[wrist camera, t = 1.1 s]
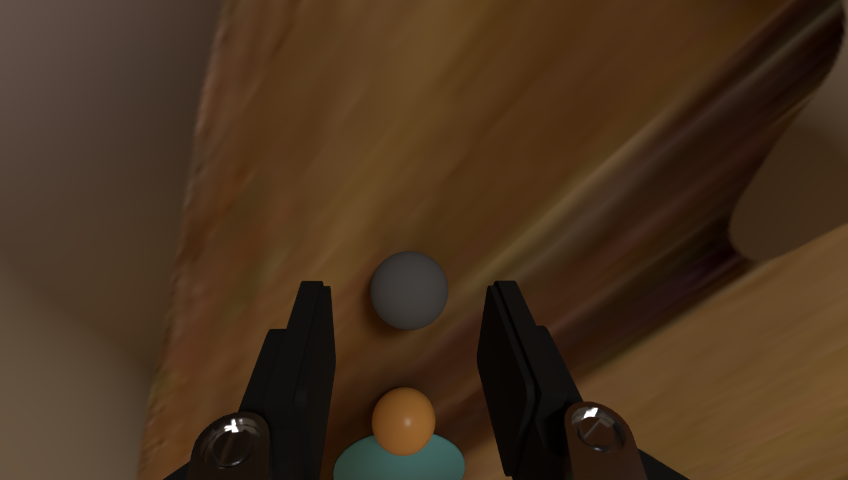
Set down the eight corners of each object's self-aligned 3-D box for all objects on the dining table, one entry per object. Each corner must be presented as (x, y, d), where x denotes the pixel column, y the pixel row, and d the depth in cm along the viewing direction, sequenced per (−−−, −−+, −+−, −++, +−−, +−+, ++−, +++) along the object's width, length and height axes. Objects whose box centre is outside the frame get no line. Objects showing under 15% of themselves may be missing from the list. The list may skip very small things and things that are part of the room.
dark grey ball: (455, 279, 32) (466, 326, 28) (393, 307, 33) (394, 358, 28) (423, 225, 30) (429, 267, 25) (357, 257, 31) (352, 303, 26)
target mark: (484, 481, 46) (485, 483, 46) (376, 521, 49) (376, 523, 48) (428, 411, 40) (428, 413, 40) (306, 460, 42) (306, 462, 42)
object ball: (442, 400, 39) (449, 455, 34) (391, 421, 40) (391, 477, 35) (415, 365, 37) (419, 419, 32) (361, 388, 37) (357, 443, 33)
